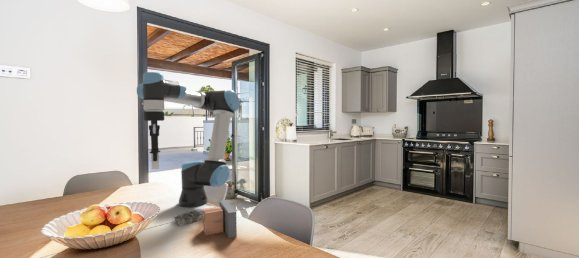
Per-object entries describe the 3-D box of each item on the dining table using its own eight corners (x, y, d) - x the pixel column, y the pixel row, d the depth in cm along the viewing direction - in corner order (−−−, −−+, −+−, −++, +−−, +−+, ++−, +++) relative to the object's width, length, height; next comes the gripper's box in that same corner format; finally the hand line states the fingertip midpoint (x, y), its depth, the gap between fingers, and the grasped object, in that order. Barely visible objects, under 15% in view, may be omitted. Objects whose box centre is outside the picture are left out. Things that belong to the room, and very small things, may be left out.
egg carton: (179, 227, 118) (179, 217, 118) (172, 222, 124) (172, 213, 123) (202, 220, 126) (202, 211, 126) (194, 216, 131) (194, 207, 131)
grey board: (219, 222, 122) (219, 200, 122) (226, 221, 124) (226, 199, 123) (229, 238, 106) (228, 212, 106) (236, 236, 107) (236, 211, 107)
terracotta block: (203, 230, 114) (202, 208, 114) (220, 227, 117) (219, 206, 117) (205, 235, 109) (205, 213, 109) (223, 232, 112) (222, 210, 112)
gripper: (144, 111, 115) (145, 167, 116) (142, 110, 103) (144, 172, 104) (163, 111, 118) (165, 165, 119) (164, 110, 106) (165, 170, 107)
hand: (155, 168), depth 111 cm, fingers closed
